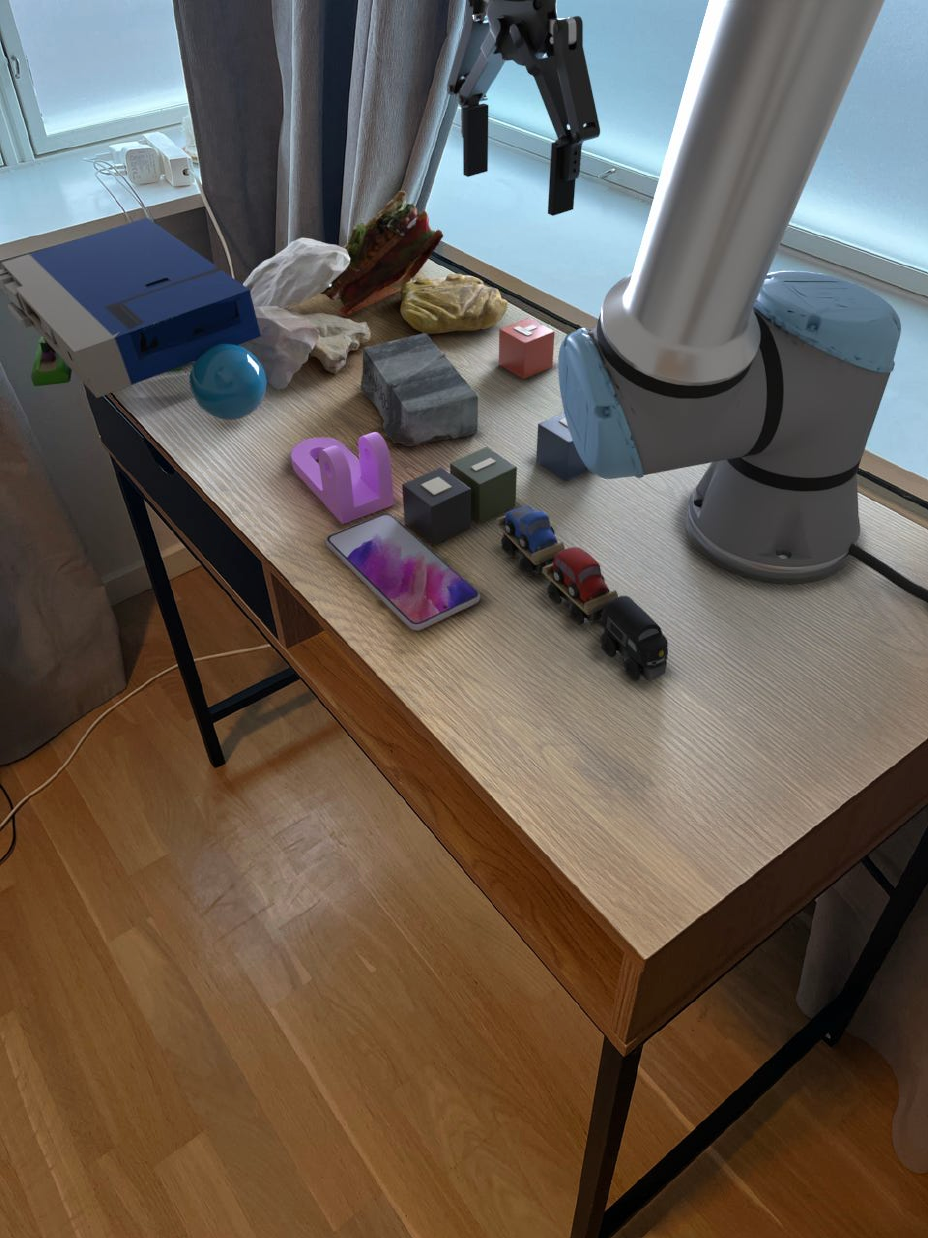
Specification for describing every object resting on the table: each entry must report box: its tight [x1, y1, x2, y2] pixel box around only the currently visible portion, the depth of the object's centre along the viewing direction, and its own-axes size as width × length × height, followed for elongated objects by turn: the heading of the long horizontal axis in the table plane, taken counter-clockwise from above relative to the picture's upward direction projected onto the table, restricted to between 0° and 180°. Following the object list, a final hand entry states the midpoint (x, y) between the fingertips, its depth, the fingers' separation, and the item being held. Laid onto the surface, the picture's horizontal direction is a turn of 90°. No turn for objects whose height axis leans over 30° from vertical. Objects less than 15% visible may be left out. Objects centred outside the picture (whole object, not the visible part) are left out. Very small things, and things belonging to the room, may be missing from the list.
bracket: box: [290, 431, 395, 525], centre depth 94 cm, size 13×6×7 cm, turn 33°
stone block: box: [360, 332, 479, 447], centre depth 104 cm, size 9×14×5 cm, turn 24°
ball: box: [189, 344, 268, 421], centre depth 103 cm, size 8×8×8 cm
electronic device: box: [0, 217, 261, 399], centre depth 108 cm, size 20×5×30 cm
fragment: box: [242, 237, 350, 309], centre depth 119 cm, size 15×20×5 cm
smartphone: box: [325, 512, 481, 632], centre depth 85 cm, size 7×1×15 cm
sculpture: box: [400, 272, 509, 335], centre depth 122 cm, size 13×4×15 cm
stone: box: [286, 308, 371, 375], centre depth 115 cm, size 13×4×10 cm
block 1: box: [401, 466, 472, 547], centre depth 89 cm, size 4×4×5 cm
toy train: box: [495, 504, 669, 682], centre depth 81 cm, size 4×22×5 cm, turn 31°
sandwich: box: [319, 190, 444, 317], centre depth 122 cm, size 16×12×8 cm
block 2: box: [449, 446, 518, 524], centre depth 92 cm, size 4×4×5 cm
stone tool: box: [239, 306, 319, 390], centre depth 111 cm, size 9×5×15 cm
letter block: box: [498, 317, 556, 380], centre depth 111 cm, size 4×4×5 cm
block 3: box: [535, 411, 590, 482], centre depth 97 cm, size 4×4×5 cm
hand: (516, 191), depth 99 cm, fingers open, 13 cm apart
